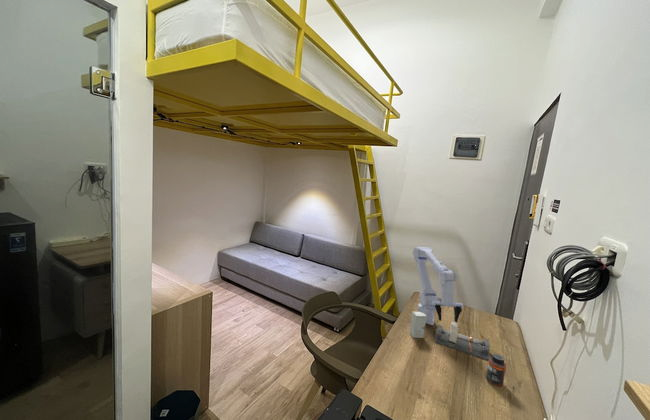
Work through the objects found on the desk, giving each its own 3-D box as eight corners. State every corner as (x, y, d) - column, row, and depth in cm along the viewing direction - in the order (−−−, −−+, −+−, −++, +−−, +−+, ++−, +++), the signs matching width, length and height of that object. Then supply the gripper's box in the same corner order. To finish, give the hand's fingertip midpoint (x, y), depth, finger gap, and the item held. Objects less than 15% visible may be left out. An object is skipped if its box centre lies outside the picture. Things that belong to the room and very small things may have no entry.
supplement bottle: (499, 378, 103) (504, 354, 101) (505, 389, 97) (510, 363, 96) (483, 373, 105) (488, 349, 103) (487, 384, 99) (492, 359, 98)
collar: (449, 340, 123) (451, 325, 122) (449, 335, 128) (451, 320, 127) (455, 342, 122) (458, 327, 121) (455, 337, 127) (457, 322, 126)
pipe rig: (434, 342, 123) (436, 332, 122) (435, 330, 134) (436, 320, 133) (490, 361, 113) (492, 350, 112) (486, 346, 124) (488, 336, 123)
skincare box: (413, 338, 125) (416, 316, 124) (408, 332, 130) (411, 311, 128) (424, 337, 126) (427, 316, 125) (419, 332, 130) (422, 311, 129)
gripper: (434, 294, 125) (435, 321, 123) (465, 296, 122) (466, 325, 120) (431, 291, 132) (431, 317, 130) (460, 293, 129) (461, 320, 127)
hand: (448, 321), depth 125 cm, fingers open, 7 cm apart
